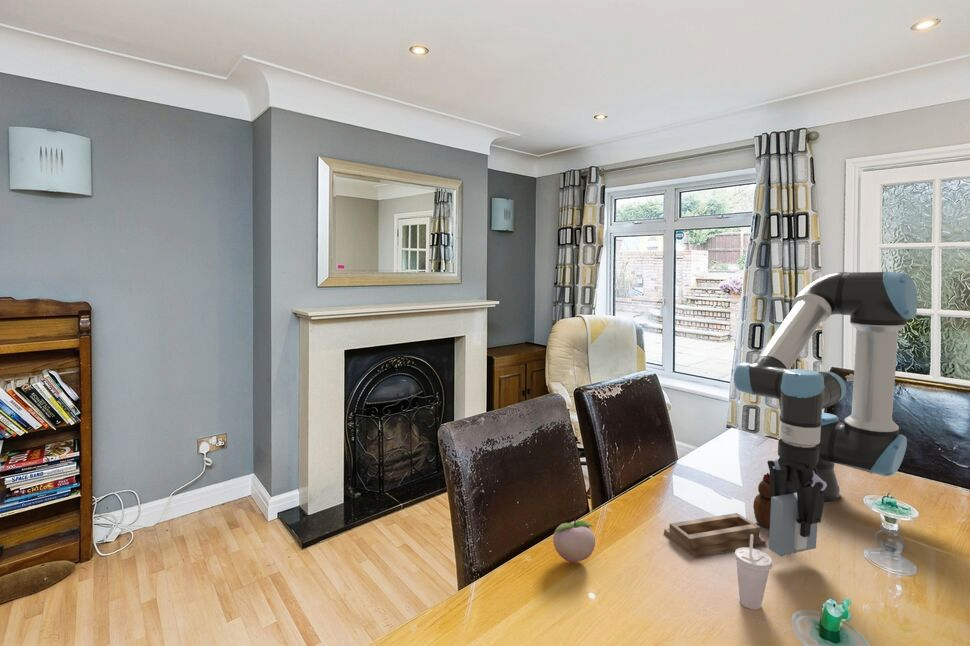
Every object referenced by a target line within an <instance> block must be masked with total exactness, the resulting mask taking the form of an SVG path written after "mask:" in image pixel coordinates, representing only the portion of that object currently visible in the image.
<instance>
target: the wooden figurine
mask: <svg viewBox="0 0 970 646" xmlns="http://www.w3.org/2000/svg"><path fill="white" fill-rule="evenodd" d="M757 490H758V493H759V494H757V495H756V496H754V501H753V505H752V506H753V514H754V518H755V521H756V522H757V524H758V525H759V526H762V527H763V528H767V529H770V513H771V501H770V472H767V473H766V474H763V478H762V480H761V481H760V482H759V484H758V487H757Z"/></svg>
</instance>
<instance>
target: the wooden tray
mask: <svg viewBox="0 0 970 646" xmlns="http://www.w3.org/2000/svg"><path fill="white" fill-rule="evenodd" d="M760 529H761V527H760V525H757V524H756V523H754V522H753V521H751V520H750V519H748V518H746V517H744V516H743V515H741V514H739V513H738V512H734V513H729V514H722V515H715V516H709V517H703V518H696V519H690V520H683V521H676V522H673V523H672V522H671V523H669V527H668V528H664V529H663V533H664V534H665V536H668V538H669V539H671V540H673V542H674V543H676V544H677V545H678V546H680V547H681V548H682V549H684V551H685V552H687V553H688V554H689V555H691V556H692V557H693V558H700V557H707V556H711V555H716V554H722V553H723V554H724V553H729V552H734V551H736V549H738V548H743V547H747V548H749V547H750V534H753V535H754V536H753V548H754V547H755V548H756V547H760V546H764V545H765V546H766V543H767V539H764V538H762V537H761V536H760Z"/></svg>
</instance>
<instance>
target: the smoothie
mask: <svg viewBox="0 0 970 646" xmlns="http://www.w3.org/2000/svg"><path fill="white" fill-rule="evenodd" d="M753 536H754V535H753V534H750V547H749V548H747V547H743V548H738V549H736V550H734V551H735V552H734V556H733V557H734V559H735V562H736V568H737V569H736V573H737V581H738V582H737V583H738V596H739V602H740V604H741V605H742V606H743V607H745V608H747V609H750V610H760V609H761V608H762V606H763V605H762V604H763V600H764V596H765V591H766V586H767V583H768V577H769V573H770V570H771V569H772V568H773V559H772V558H771V556H769V554H767V553H765V552H764V551H762V550H759V549H756V548H754V547H753Z"/></svg>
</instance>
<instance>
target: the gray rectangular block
mask: <svg viewBox="0 0 970 646" xmlns="http://www.w3.org/2000/svg"><path fill="white" fill-rule="evenodd" d="M797 519H799V512H798V499H797V493H792V494H786V495H780V496H775V497H771V513H770V528H769V535H768V550H770V551H771V552H773V553H774V554H776V555H778V556H779V557H782V556H787V555H791V554H795V553H800V552H805V551H810V550H813V549H814V550H815V549H816V548H817V539H818V538H817V537H818V524H819V523H815V524H811V529H810V536H809V537H807V547H806V548H805V549H801V550H795V549H794V535H795V520H797Z"/></svg>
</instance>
